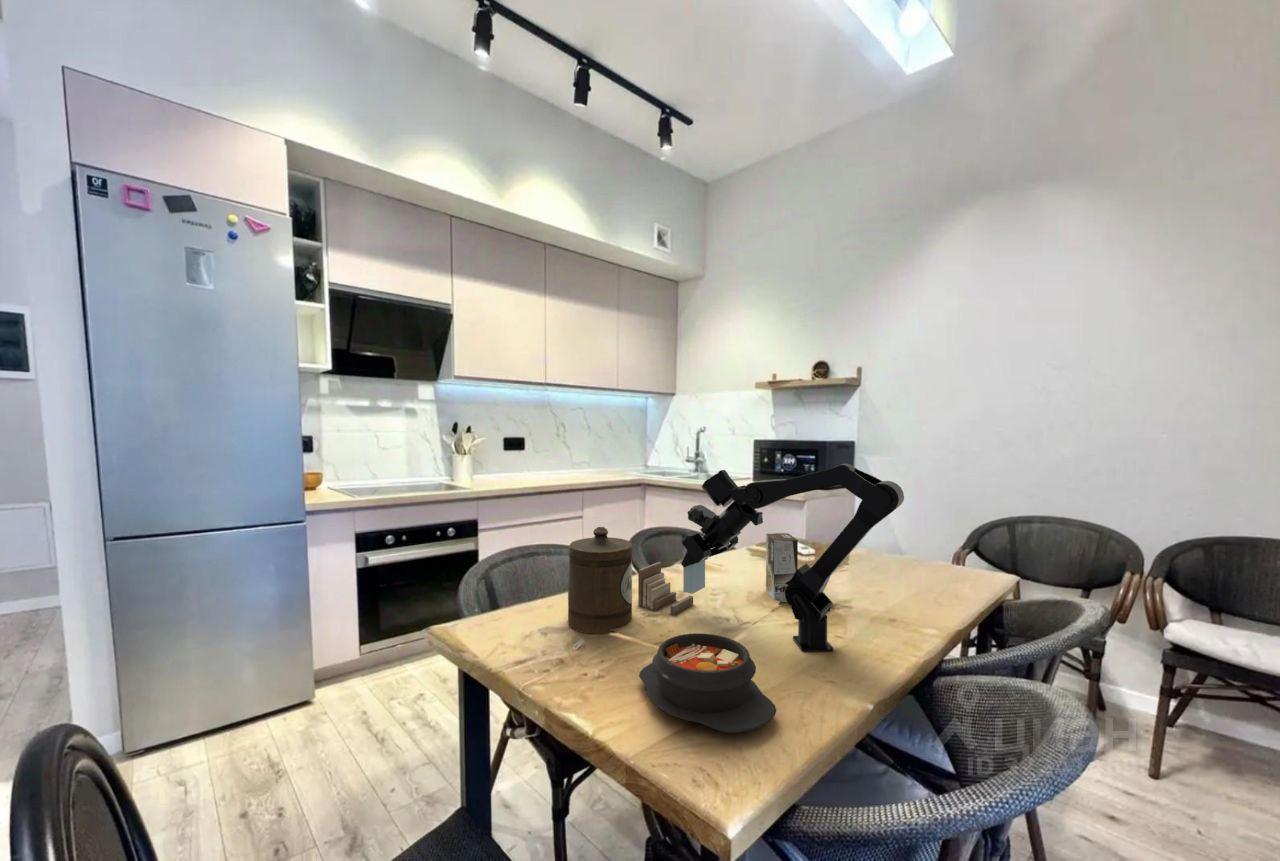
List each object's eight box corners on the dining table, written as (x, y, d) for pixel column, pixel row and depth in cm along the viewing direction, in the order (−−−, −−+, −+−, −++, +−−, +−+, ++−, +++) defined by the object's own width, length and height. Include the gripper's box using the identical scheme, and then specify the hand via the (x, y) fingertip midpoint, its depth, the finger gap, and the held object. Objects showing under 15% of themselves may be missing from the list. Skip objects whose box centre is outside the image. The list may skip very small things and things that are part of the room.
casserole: (614, 687, 88) (614, 639, 88) (693, 658, 99) (693, 615, 99) (718, 764, 68) (718, 702, 68) (802, 716, 79) (802, 663, 79)
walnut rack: (694, 607, 126) (694, 568, 126) (675, 619, 119) (675, 577, 119) (658, 599, 133) (658, 561, 133) (638, 609, 126) (638, 569, 126)
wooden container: (641, 628, 114) (641, 530, 113) (577, 638, 108) (577, 536, 108) (619, 606, 127) (619, 519, 127) (561, 614, 122) (561, 523, 122)
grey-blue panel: (705, 587, 123) (705, 540, 123) (692, 593, 118) (692, 544, 118) (696, 585, 124) (696, 538, 124) (683, 591, 120) (683, 543, 120)
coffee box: (798, 602, 130) (798, 540, 130) (773, 602, 130) (773, 539, 130) (788, 591, 139) (789, 532, 139) (765, 590, 140) (765, 532, 139)
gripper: (726, 490, 126) (688, 529, 133) (688, 499, 111) (647, 543, 118) (756, 525, 122) (715, 564, 128) (721, 540, 107) (676, 582, 113)
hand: (689, 562), depth 122 cm, fingers closed on grey-blue panel, 6 cm apart
